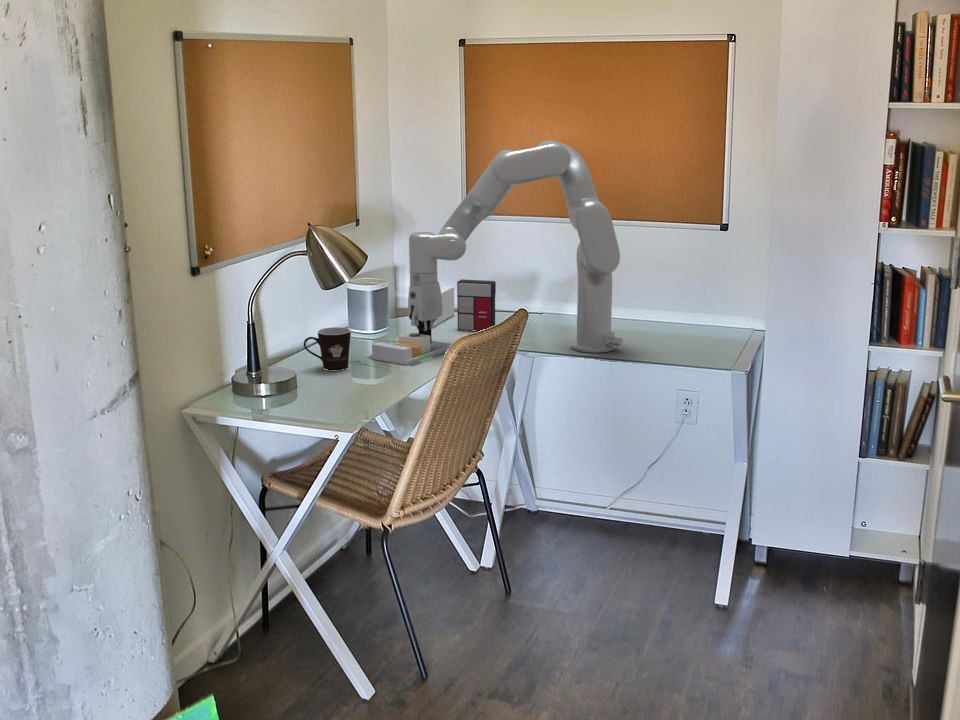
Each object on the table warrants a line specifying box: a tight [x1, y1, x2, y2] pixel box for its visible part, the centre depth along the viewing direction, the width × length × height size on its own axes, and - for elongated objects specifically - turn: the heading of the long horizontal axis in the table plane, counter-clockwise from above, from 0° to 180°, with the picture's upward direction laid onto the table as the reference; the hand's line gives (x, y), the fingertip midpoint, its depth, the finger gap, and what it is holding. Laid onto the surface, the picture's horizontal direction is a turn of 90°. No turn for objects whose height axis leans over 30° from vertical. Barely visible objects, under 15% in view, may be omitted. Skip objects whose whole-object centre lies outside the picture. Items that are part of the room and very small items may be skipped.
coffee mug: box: [303, 326, 352, 371], centre depth 281 cm, size 12×9×10 cm
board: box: [365, 340, 452, 369], centre depth 292 cm, size 25×16×5 cm, turn 146°
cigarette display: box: [422, 285, 455, 329], centre depth 334 cm, size 20×6×9 cm, turn 161°
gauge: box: [398, 332, 431, 355], centre depth 291 cm, size 5×7×5 cm
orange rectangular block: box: [392, 341, 421, 358], centre depth 289 cm, size 2×8×3 cm, turn 56°
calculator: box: [456, 278, 497, 332], centre depth 320 cm, size 11×4×15 cm, turn 73°
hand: (425, 343), depth 295 cm, fingers closed
